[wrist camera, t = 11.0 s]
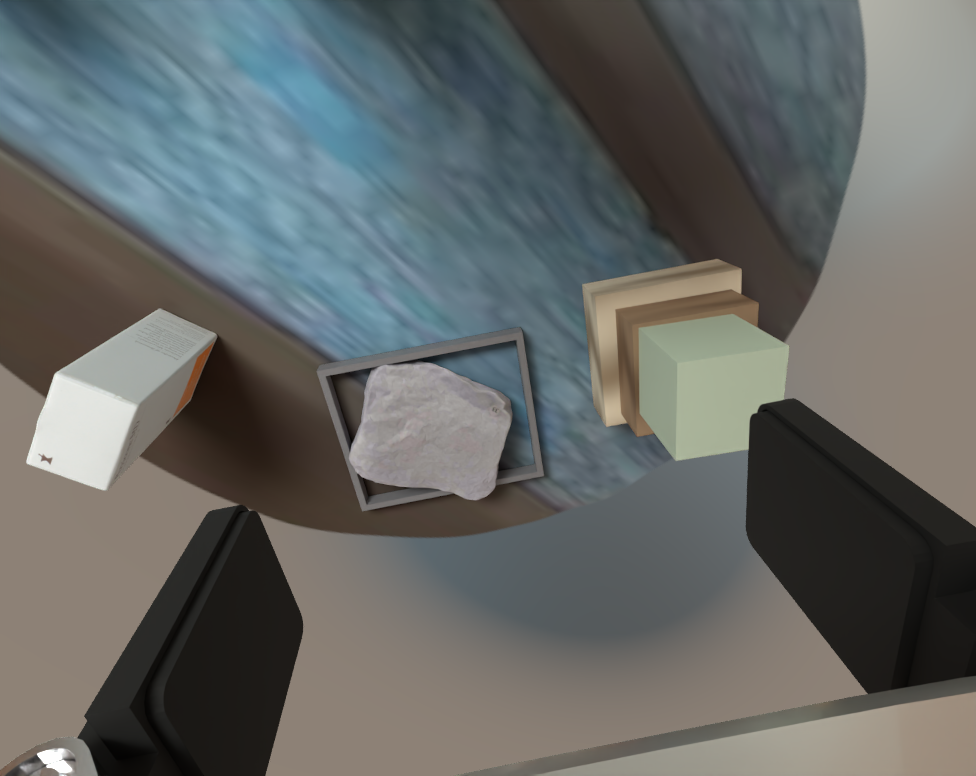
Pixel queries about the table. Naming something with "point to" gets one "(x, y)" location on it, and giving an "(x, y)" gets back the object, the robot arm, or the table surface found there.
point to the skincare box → (119, 399)
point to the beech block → (634, 292)
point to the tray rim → (416, 353)
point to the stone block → (430, 430)
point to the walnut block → (664, 314)
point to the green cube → (707, 382)
